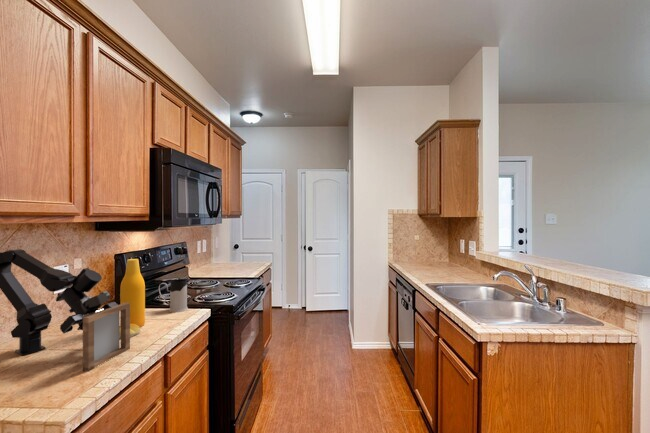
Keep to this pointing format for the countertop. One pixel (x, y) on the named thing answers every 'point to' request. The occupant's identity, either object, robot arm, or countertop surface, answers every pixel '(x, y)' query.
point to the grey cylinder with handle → (177, 295)
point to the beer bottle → (133, 292)
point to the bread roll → (131, 330)
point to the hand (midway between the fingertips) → (106, 334)
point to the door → (106, 335)
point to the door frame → (89, 335)
